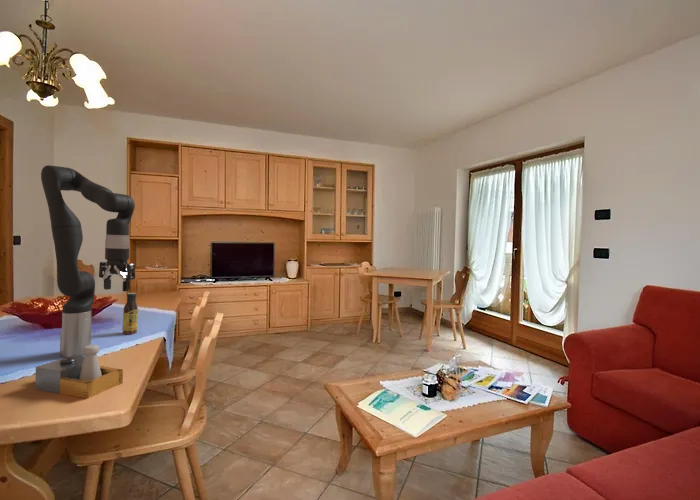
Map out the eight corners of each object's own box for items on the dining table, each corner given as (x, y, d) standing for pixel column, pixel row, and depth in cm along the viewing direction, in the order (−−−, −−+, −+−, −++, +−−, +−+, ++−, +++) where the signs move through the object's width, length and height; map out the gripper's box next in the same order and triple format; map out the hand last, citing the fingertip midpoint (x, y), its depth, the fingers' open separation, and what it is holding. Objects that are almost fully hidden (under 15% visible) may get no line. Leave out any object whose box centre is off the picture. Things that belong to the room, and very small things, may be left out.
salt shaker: (87, 381, 112) (88, 342, 112) (105, 382, 112) (106, 343, 112) (74, 389, 106) (75, 348, 106) (93, 390, 107) (94, 348, 106)
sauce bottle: (130, 335, 165) (130, 294, 165) (119, 334, 166) (119, 293, 166) (140, 332, 172) (141, 292, 171) (130, 330, 173) (131, 291, 172)
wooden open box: (25, 387, 108) (26, 362, 108) (65, 373, 119) (66, 350, 119) (87, 398, 102) (87, 372, 102) (122, 382, 114) (123, 359, 113)
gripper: (92, 246, 126) (91, 290, 126) (124, 248, 122) (123, 293, 123) (111, 246, 133) (110, 287, 134) (141, 247, 130) (140, 290, 130)
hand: (116, 290), depth 128 cm, fingers open, 8 cm apart
